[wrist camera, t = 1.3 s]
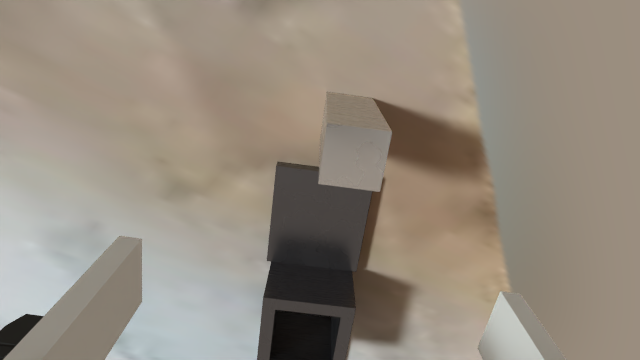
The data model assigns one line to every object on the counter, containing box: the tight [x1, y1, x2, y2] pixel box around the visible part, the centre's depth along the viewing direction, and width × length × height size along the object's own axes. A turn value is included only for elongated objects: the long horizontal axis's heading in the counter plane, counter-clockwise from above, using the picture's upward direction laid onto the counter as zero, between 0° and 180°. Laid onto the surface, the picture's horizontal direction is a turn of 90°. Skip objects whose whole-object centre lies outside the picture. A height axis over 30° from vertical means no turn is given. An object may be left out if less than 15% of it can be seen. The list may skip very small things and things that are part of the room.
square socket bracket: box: [257, 162, 372, 360], centre depth 35 cm, size 25×8×6 cm, turn 172°
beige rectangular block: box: [318, 92, 392, 192], centre depth 27 cm, size 4×4×10 cm
